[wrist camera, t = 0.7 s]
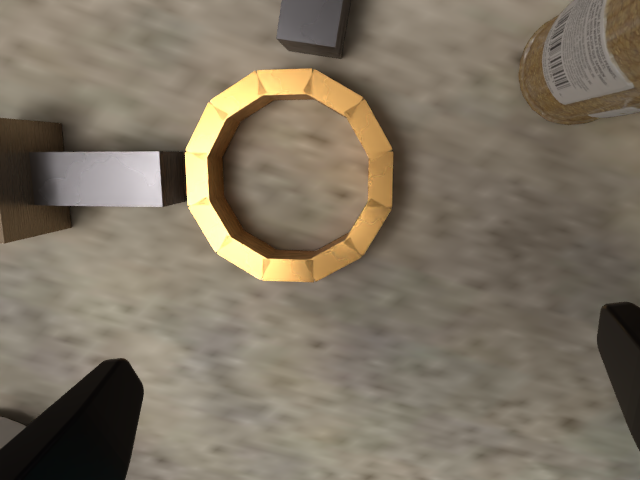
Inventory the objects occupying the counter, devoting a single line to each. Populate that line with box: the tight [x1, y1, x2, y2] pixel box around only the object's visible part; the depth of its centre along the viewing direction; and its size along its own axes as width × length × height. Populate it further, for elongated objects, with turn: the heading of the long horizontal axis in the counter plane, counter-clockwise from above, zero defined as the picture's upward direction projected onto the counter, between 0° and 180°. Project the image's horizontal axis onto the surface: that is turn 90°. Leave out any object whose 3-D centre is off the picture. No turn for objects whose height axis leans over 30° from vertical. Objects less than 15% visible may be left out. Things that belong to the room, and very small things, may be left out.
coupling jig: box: [0, 0, 393, 282], centre depth 20 cm, size 17×25×4 cm
